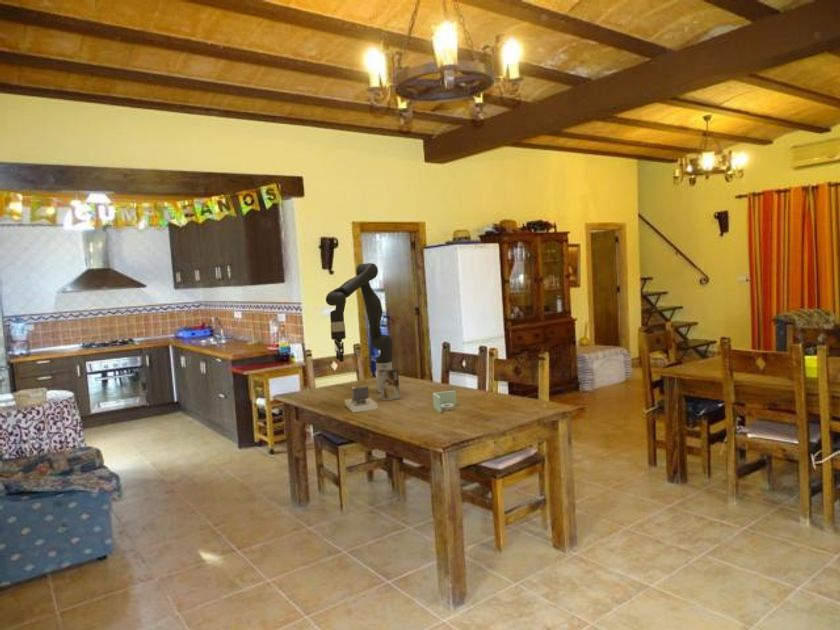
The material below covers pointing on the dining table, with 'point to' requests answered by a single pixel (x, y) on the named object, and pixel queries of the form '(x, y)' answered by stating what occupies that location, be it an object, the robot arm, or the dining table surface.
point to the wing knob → (360, 394)
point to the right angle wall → (444, 400)
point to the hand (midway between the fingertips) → (340, 360)
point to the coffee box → (389, 384)
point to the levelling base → (360, 405)
